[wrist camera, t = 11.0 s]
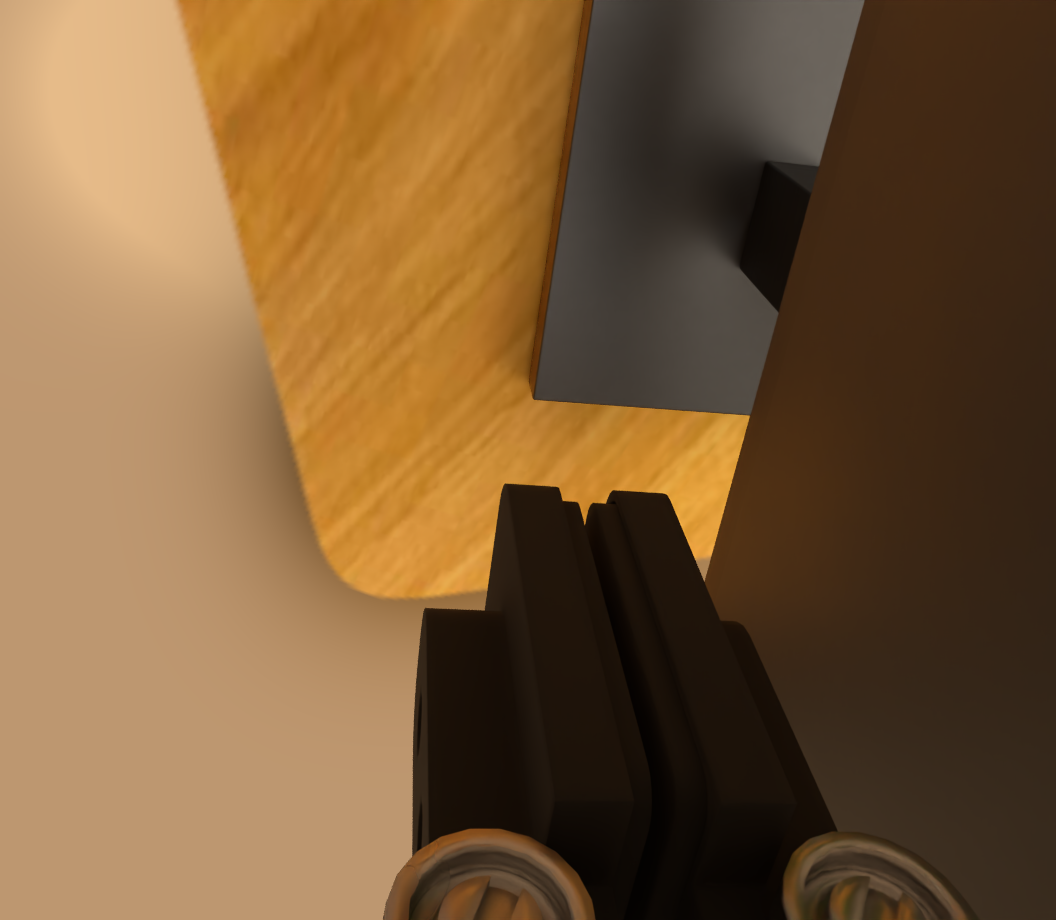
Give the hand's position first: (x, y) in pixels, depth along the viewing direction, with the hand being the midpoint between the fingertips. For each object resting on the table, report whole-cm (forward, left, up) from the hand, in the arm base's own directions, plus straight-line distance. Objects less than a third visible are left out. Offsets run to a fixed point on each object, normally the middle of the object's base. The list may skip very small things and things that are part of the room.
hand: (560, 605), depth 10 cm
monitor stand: (+6, +2, -18) cm, 19 cm away
